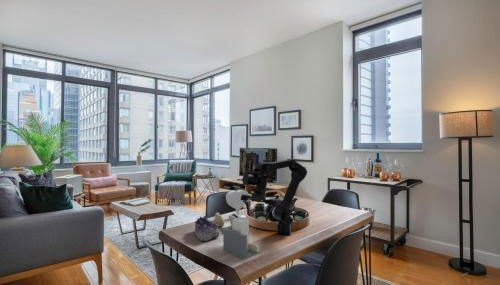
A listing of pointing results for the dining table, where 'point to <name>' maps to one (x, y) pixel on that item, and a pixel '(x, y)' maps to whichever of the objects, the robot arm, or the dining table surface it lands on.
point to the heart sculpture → (236, 200)
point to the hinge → (233, 217)
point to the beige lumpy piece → (218, 220)
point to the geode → (206, 229)
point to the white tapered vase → (241, 227)
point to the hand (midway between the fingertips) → (257, 216)
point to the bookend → (238, 244)
